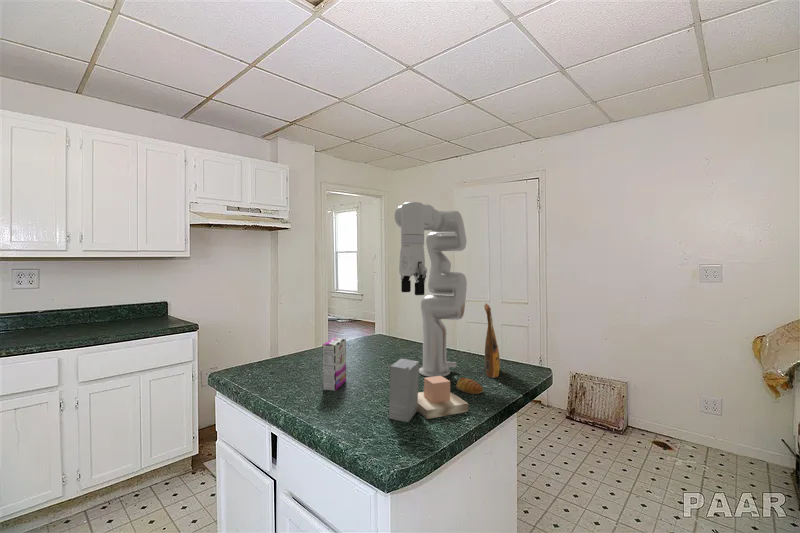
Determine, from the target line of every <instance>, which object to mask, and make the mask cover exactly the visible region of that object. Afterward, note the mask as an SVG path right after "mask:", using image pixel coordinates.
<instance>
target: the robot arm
mask: <svg viewBox="0 0 800 533" xmlns="http://www.w3.org/2000/svg"><path fill="white" fill-rule="evenodd" d="M462 216H463V215H462V214H461V213H460V211H458V210H442V211H441V210H438V209H436V208H434V206H433V205H431V204H424V203H422V202H419V201H418V202H417V201H406V202H404V203H402V204H401V205H399V206H398V207H397V208H396V209H395V211H394V221H395V223H396V225H397V226H398V227H399V228H400V245H401V247H400V251H399V252H400V254H399V271H398V272H399V274H400V280H401V282H400V284H401V293H410V292H411V291H412V290H411V288H412V287H411V286H412V284H411V283H412V282H411V277H413V278H414V280H415V282H414V296H424V297H423V298H422V300H421V302H420V311H421V318H422V367H419V375H421V376H425V377H434V376H442V377H444V378H445V377H447V376H449V375H450V374H451V370H450V369H451V368H456V367H457V365H458V364H457V362H456V361H447V328H446V326H445V324H444V322H443V321H442V320H453V321H458V320H462V318H463V317H464V315H465V308H466V298H467V289H468V288H467V286H468V283H467V277H466V275H465V274H464V273H462V272H459V271H458V272H457V271H451V267H452V263H451V261H450V259H449V258H448V257H447V255H446V254H444V253H443V252H462V251H464V250H465V249H466V247H467V235H466V228H465V225H464V219H463V217H462ZM425 231H427V232H428V231H429V232H430V233H428V234H427V235H426V238H425ZM425 244H426V249H427V252H428V256H429V261H430V271H429V275H428V281H427V282H428V284H427V288H428V291H429V292H430V293H431V294H428V295H426V296H425V282H426V278H427V273H428V272H427V271H428V269H427V267H426V262H425V261H426V260H425V259H426V258H425V248H424V247H425Z"/></svg>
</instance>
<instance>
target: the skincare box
mask: <svg viewBox="0 0 800 533" xmlns="http://www.w3.org/2000/svg"><path fill="white" fill-rule="evenodd" d="M389 369H390V370H389V371H390V372H389V393H388V394H389V395H388V403H389V404H388V419H389V420H395V421H399V422H404V423H409V422H410V421H411V420H412V419H413V417H414V416H415V415H416V414H417V412H418V411H417V402H418V393H419V376H420V373H419V369H420V361H418V360H412V359H406V358H399V359H398V360H397V361H396V362H394V363H392V364H391V365H390V366H389Z"/></svg>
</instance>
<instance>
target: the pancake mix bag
mask: <svg viewBox="0 0 800 533" xmlns="http://www.w3.org/2000/svg"><path fill="white" fill-rule="evenodd" d="M484 310H485V313H486V318H487V329H486V337H485V344H484V365H485V366H484V367H485V373H486V375H485V376H487V377H488V378H492V379H494V378H498V377H499V375H500V367H501V366H500V365H501V361H500V360H501V358H500V357H501V356H500V352H499V345H498V342H497V338H496V333H495V330H494V326H493V324H494V323H493V316H492V315H493V314H492V311H491V310H492V308H491V307H490V305H489V304H488V303H487V302H486V303H485V304H484Z"/></svg>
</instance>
